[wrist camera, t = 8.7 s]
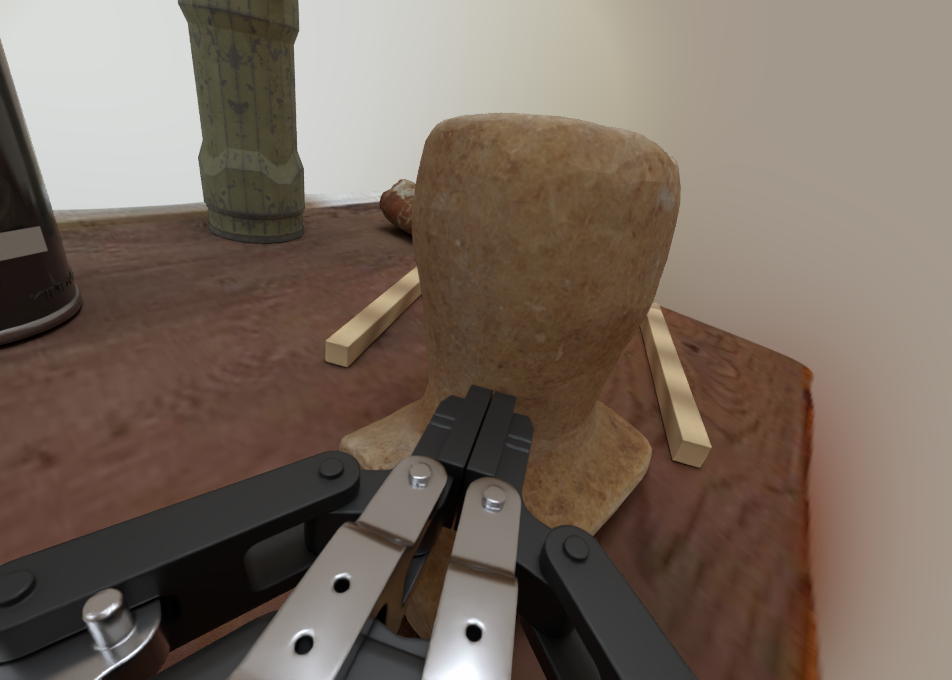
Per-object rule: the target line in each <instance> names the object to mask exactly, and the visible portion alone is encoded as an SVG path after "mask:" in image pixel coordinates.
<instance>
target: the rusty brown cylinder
mask: <svg viewBox="0 0 952 680" xmlns="http://www.w3.org/2000/svg"><path fill="white" fill-rule="evenodd" d="M415 186H416V184H415V183H413V182H411V181H408V180H399V181H398V183H396V184H394V185H393V187H392V188H391V189H390V190H388V191H385V192H384V193H383V194H382V196H381V199H380V209H381V210H382V212H383V214H384V216H385V217H386V218H387V219H388V220H389V221H390V222H391V223H392V224H394V225H395V226H397V227H398V228H400V229H402V230H403V231H405V232H407V233H409V234H411V235H412V209H413V199H414V192H415Z"/></svg>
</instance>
